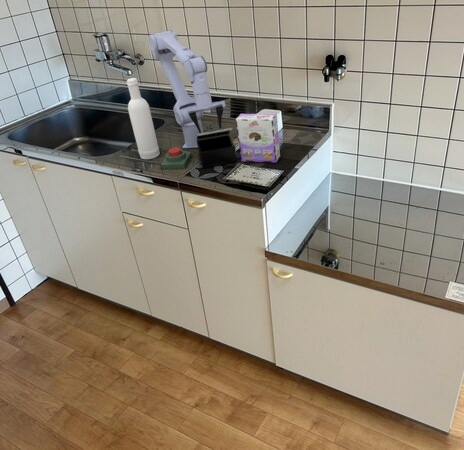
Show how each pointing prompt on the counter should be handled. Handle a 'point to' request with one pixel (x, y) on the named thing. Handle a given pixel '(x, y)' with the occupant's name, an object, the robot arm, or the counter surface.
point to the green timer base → (176, 160)
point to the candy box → (258, 137)
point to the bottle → (142, 122)
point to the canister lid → (213, 134)
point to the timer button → (174, 152)
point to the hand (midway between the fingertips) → (210, 130)
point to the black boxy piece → (216, 151)
